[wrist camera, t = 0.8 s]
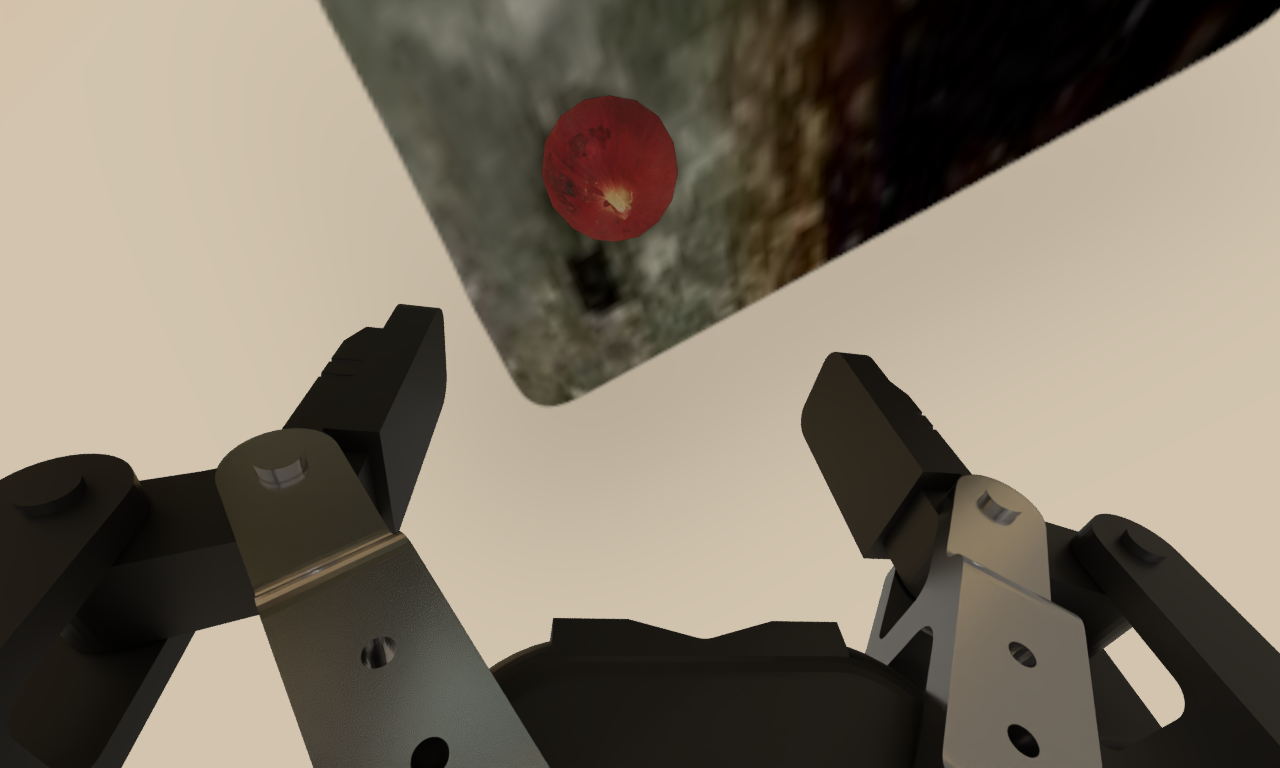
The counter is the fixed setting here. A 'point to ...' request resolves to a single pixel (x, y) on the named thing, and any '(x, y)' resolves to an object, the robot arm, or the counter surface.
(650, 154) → the onion
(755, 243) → the counter surface
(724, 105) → the counter surface
